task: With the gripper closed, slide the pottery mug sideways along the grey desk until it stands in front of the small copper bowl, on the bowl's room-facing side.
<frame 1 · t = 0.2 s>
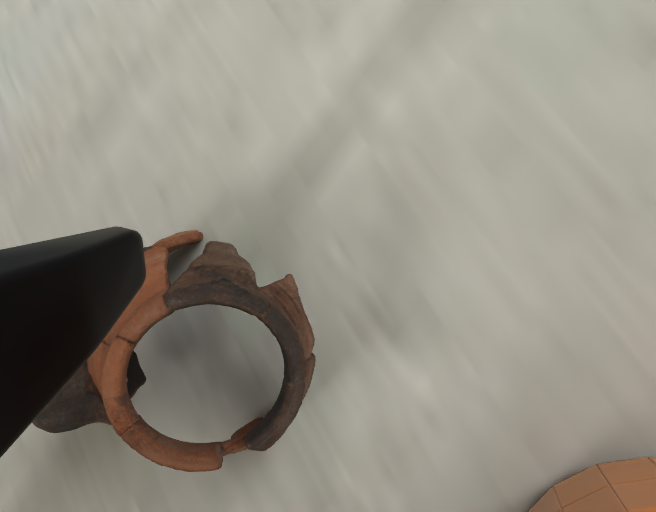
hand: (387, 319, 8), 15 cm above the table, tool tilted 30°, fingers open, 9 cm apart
pottery mug: (208, 341, 26), on the table
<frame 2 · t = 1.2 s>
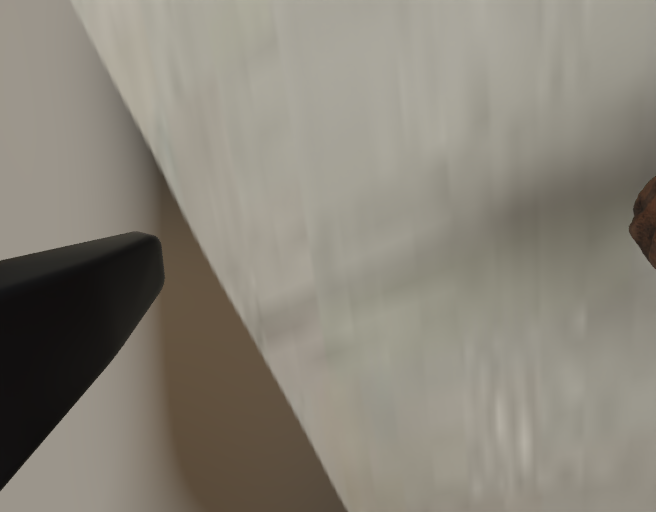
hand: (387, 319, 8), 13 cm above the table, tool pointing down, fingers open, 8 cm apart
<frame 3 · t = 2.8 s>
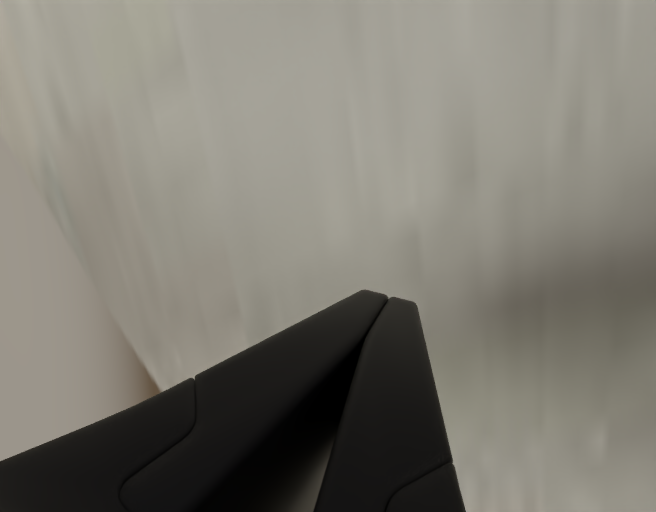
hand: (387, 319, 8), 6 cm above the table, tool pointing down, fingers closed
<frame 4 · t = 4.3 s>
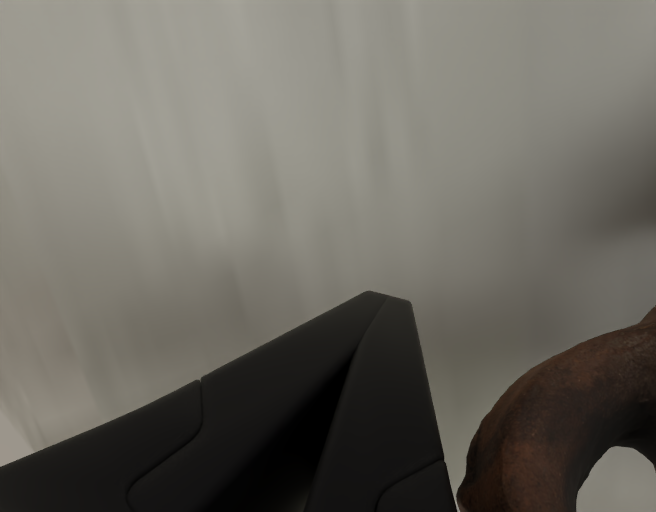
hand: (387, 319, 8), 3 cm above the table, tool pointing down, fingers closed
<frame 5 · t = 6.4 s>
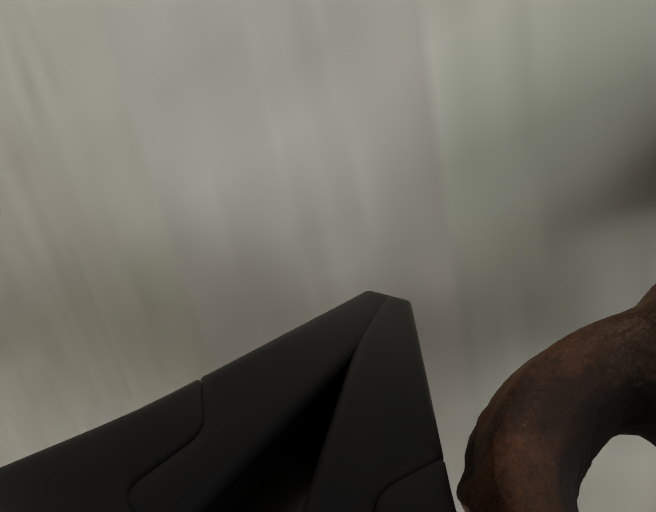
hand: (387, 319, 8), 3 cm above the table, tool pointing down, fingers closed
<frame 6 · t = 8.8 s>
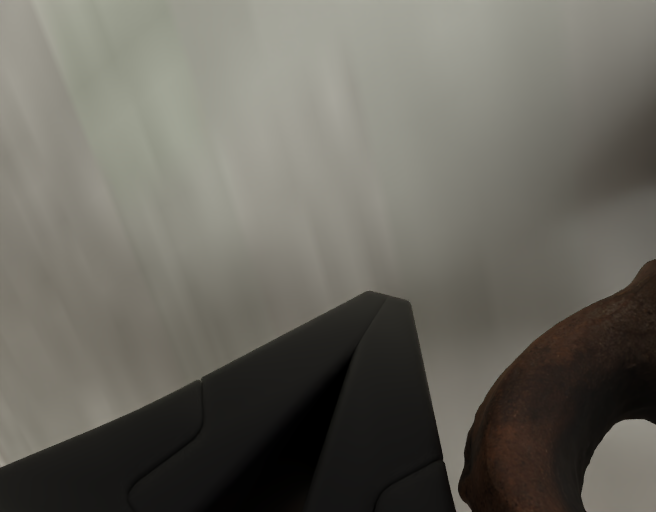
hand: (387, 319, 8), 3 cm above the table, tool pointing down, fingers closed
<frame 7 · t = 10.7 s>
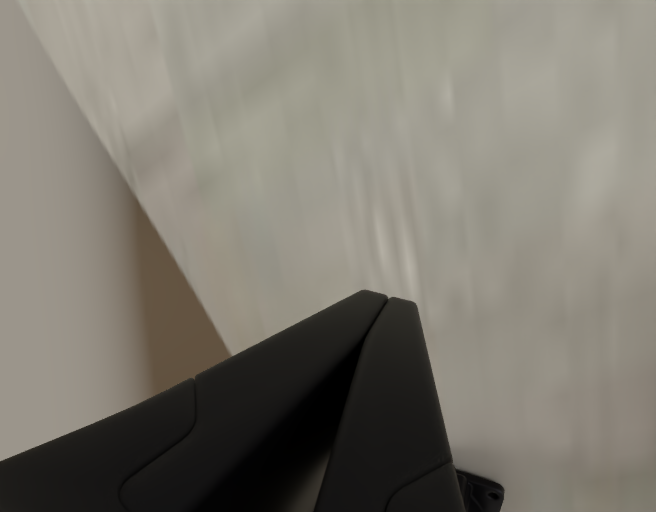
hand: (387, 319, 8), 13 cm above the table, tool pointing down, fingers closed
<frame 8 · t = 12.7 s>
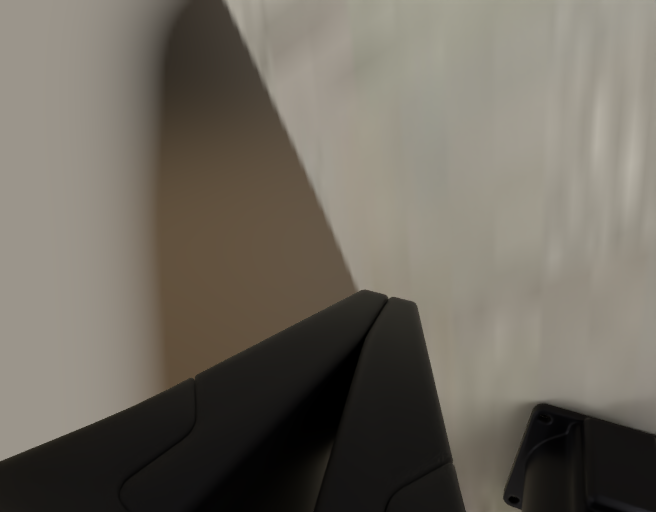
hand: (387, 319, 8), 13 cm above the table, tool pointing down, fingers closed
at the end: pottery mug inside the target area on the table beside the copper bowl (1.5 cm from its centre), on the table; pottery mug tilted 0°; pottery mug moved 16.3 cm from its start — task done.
